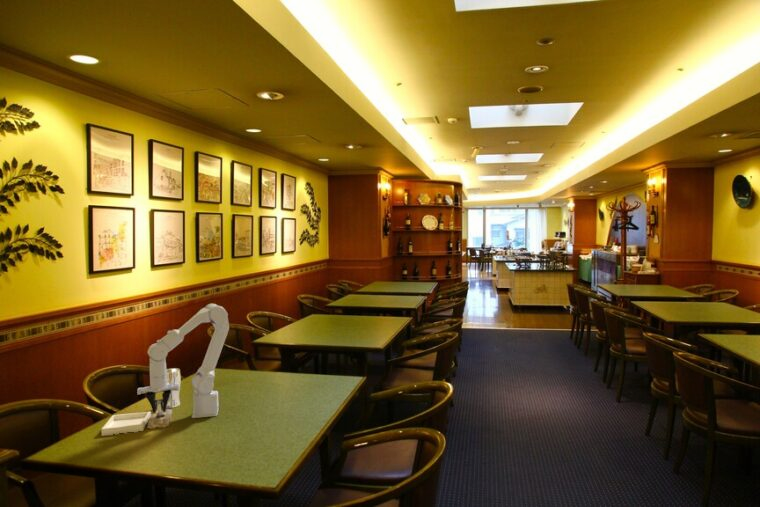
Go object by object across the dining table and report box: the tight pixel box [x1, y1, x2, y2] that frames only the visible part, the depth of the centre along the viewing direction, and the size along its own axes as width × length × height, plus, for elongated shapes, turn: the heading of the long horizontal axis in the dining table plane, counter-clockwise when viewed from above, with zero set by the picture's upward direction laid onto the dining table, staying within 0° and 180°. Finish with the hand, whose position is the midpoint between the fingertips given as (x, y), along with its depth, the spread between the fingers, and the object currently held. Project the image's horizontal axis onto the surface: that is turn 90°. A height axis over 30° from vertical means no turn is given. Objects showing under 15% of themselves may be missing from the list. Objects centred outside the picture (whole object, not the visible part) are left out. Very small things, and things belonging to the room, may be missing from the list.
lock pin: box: [155, 398, 163, 418], centre depth 180 cm, size 3×3×8 cm
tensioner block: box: [147, 408, 173, 429], centre depth 183 cm, size 7×14×3 cm, turn 14°
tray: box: [100, 411, 152, 437], centre depth 178 cm, size 14×14×2 cm
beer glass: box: [166, 367, 182, 409], centre depth 199 cm, size 7×7×15 cm
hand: (159, 410), depth 180 cm, fingers closed on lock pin, 3 cm apart
